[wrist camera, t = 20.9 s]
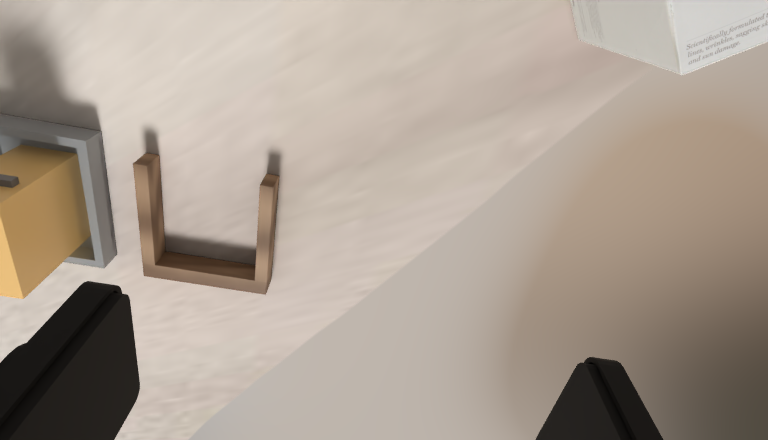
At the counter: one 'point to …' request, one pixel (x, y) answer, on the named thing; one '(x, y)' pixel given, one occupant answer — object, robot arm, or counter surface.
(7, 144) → the grey tray
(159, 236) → the walnut bay
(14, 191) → the yellow block
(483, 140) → the counter surface
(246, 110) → the counter surface
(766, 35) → the skincare box
